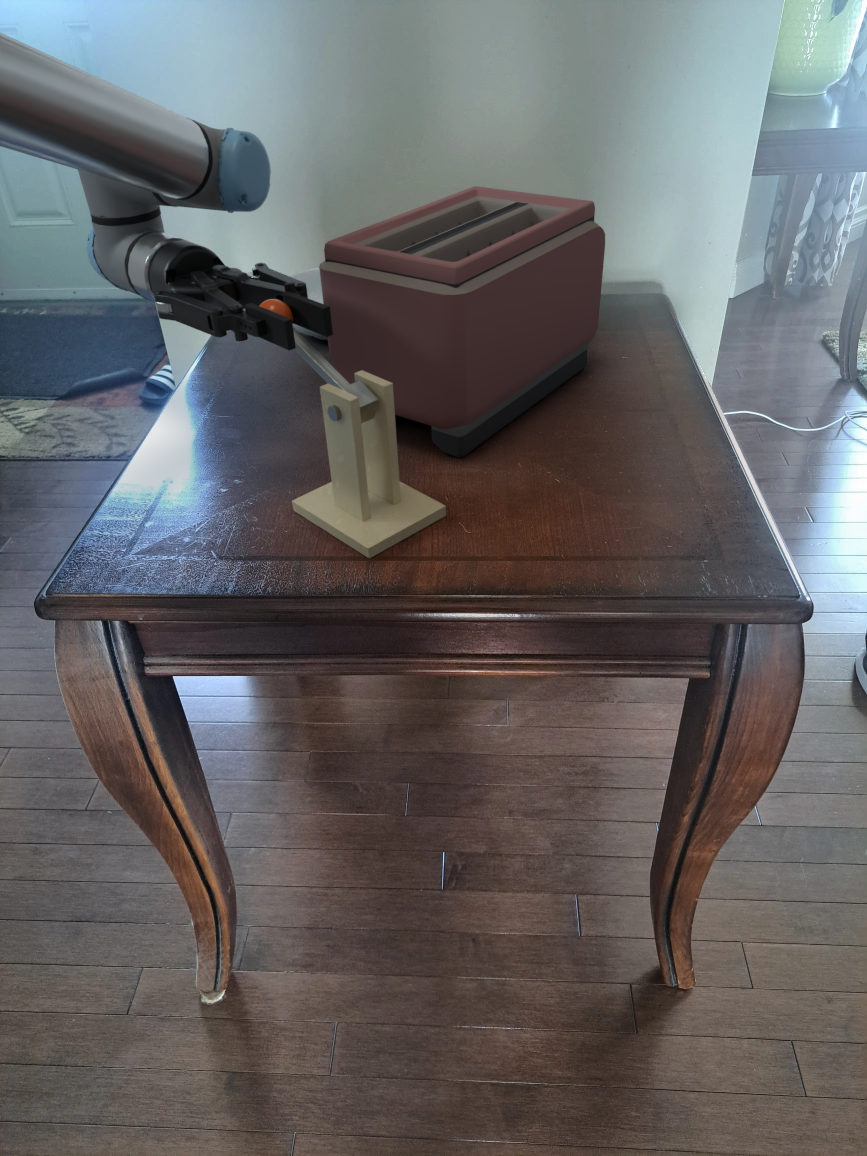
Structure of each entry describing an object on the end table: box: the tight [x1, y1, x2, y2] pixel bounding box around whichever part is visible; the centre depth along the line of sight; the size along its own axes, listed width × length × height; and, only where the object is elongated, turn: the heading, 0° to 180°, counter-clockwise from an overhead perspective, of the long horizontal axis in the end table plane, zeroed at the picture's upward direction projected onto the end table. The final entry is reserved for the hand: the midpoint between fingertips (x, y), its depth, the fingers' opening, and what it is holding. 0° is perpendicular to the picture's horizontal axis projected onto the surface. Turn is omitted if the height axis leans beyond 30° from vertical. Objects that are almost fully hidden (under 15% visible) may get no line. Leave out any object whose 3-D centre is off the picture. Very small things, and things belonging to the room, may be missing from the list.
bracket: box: [291, 370, 447, 559], centre depth 79 cm, size 12×10×14 cm
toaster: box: [318, 185, 606, 458], centre depth 99 cm, size 19×36×21 cm, turn 144°
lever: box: [259, 299, 379, 424], centre depth 78 cm, size 16×4×4 cm, turn 43°
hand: (309, 328), depth 76 cm, fingers closed on lever, 4 cm apart
